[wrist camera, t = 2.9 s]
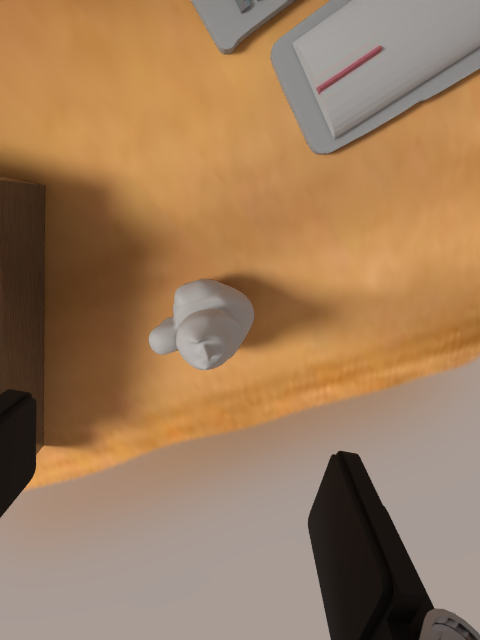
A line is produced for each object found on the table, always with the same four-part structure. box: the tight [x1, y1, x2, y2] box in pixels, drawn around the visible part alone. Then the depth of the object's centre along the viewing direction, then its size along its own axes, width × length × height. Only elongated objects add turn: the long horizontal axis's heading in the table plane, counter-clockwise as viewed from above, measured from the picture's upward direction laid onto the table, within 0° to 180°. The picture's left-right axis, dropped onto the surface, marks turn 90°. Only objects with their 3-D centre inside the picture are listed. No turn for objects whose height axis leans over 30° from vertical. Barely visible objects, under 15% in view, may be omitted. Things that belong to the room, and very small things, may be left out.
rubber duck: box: [149, 279, 255, 370], centre depth 18 cm, size 5×7×8 cm
